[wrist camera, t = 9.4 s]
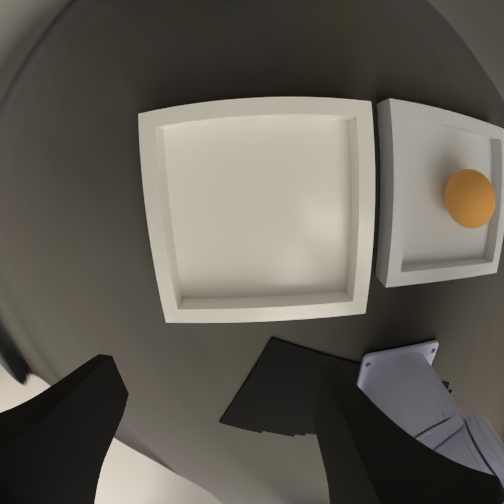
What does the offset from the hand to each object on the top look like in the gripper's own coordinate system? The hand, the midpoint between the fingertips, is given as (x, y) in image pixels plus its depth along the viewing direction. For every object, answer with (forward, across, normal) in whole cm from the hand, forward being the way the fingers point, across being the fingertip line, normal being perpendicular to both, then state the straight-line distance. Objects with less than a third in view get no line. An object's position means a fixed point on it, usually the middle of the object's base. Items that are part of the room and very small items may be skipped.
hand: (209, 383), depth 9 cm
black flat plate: (+11, -13, +18) cm, 25 cm away
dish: (+10, -2, -4) cm, 11 cm away
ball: (+10, -16, -5) cm, 19 cm away
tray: (+10, -16, -5) cm, 20 cm away
